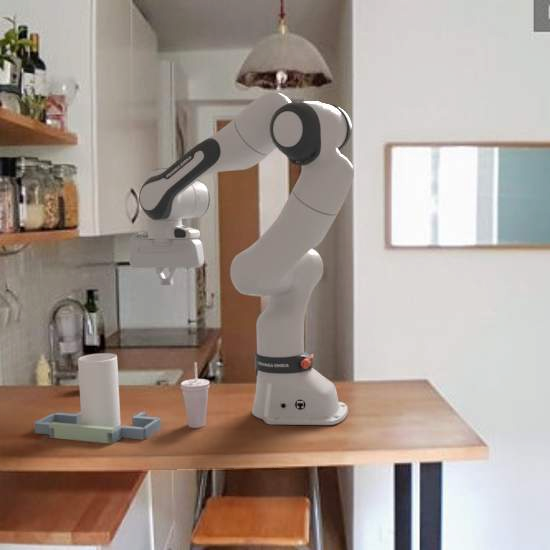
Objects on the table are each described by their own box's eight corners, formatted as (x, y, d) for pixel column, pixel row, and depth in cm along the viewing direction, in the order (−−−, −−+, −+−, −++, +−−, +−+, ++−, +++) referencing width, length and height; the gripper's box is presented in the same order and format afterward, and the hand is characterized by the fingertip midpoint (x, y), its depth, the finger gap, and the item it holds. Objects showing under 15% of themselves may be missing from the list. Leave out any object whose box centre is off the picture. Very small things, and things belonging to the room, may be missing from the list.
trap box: (168, 423, 128) (167, 410, 127) (136, 446, 115) (135, 431, 114) (68, 415, 135) (68, 402, 135) (28, 435, 122) (27, 421, 122)
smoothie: (216, 421, 128) (213, 360, 127) (203, 431, 122) (201, 367, 121) (190, 419, 130) (188, 359, 129) (177, 428, 124) (174, 365, 123)
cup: (106, 436, 121) (102, 362, 119) (73, 433, 123) (69, 360, 122) (127, 423, 128) (124, 354, 127) (97, 420, 131) (93, 352, 130)
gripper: (123, 233, 148) (125, 286, 149) (195, 231, 142) (197, 286, 143) (136, 232, 154) (138, 283, 155) (205, 231, 148) (207, 283, 149)
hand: (167, 284), depth 149 cm, fingers closed
